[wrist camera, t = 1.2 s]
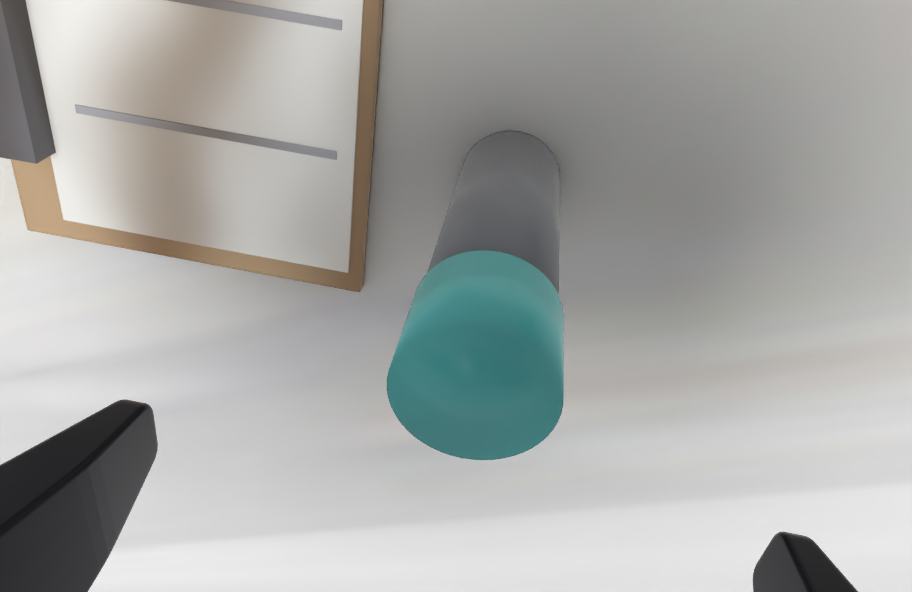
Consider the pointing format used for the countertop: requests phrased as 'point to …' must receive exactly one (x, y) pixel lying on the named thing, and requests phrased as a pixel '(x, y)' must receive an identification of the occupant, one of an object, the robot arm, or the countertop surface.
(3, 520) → the robot arm
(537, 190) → the marker
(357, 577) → the countertop surface
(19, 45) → the clipboard
